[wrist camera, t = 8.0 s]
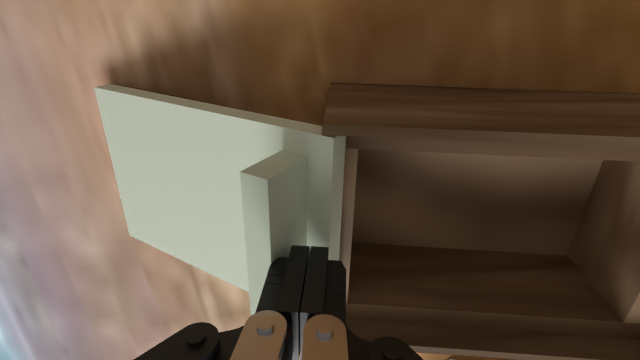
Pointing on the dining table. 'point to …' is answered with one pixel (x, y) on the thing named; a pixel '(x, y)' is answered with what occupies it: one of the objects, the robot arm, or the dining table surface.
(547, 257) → the box
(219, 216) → the lid
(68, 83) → the dining table surface
